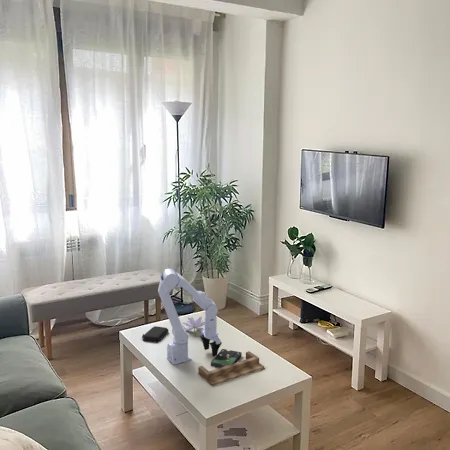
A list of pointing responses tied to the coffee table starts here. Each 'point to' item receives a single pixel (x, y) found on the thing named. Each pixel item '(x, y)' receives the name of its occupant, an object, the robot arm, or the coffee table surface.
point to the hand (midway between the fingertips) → (210, 352)
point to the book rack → (231, 370)
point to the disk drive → (226, 358)
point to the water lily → (194, 324)
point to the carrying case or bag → (155, 334)
